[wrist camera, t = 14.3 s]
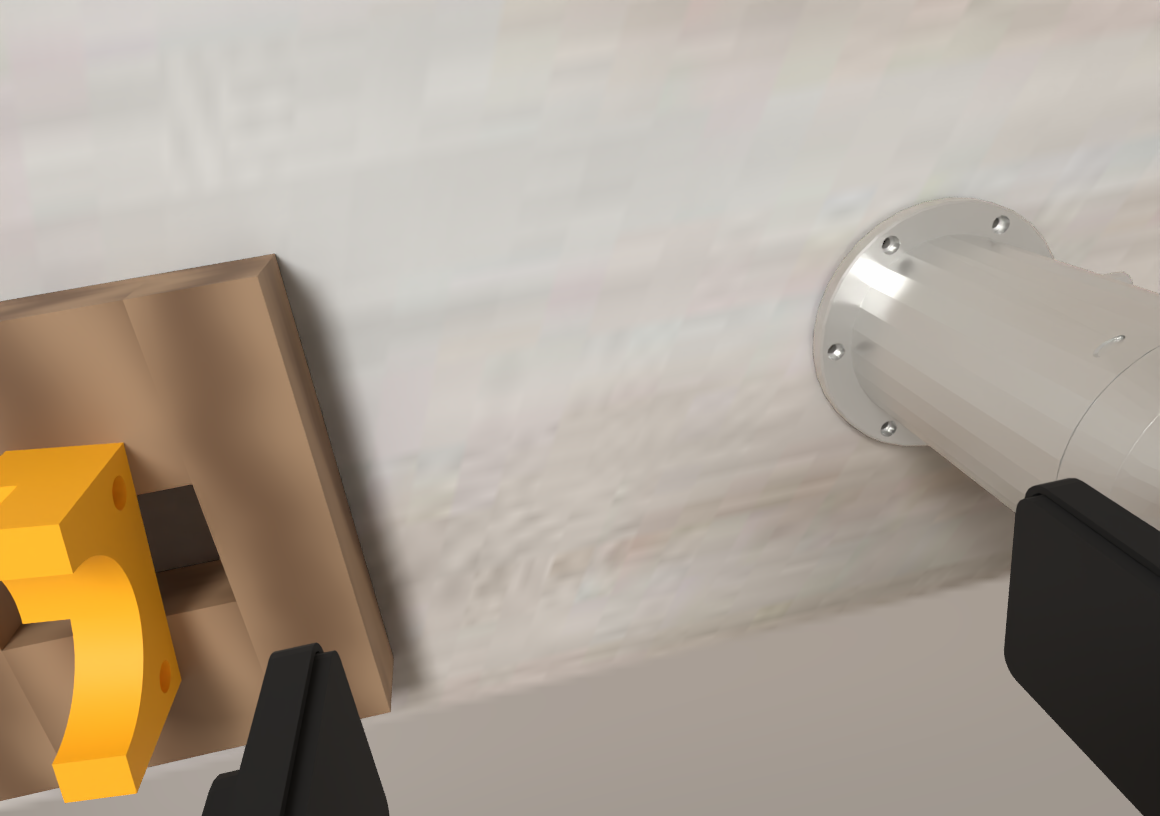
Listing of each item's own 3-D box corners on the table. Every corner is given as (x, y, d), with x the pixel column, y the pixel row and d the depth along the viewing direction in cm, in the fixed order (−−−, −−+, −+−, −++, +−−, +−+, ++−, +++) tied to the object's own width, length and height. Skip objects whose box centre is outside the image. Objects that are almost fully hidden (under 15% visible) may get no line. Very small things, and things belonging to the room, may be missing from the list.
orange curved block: (5, 451, 33) (-86, 536, 27) (123, 442, 34) (58, 524, 28) (79, 691, 38) (14, 809, 32) (181, 680, 38) (136, 793, 32)
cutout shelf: (274, 253, 36) (257, 276, 32) (393, 658, 45) (390, 712, 41) (-228, 341, 34) (-307, 375, 30) (1, 745, 43) (-39, 809, 39)
